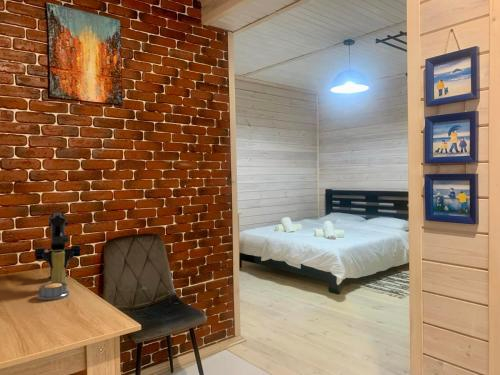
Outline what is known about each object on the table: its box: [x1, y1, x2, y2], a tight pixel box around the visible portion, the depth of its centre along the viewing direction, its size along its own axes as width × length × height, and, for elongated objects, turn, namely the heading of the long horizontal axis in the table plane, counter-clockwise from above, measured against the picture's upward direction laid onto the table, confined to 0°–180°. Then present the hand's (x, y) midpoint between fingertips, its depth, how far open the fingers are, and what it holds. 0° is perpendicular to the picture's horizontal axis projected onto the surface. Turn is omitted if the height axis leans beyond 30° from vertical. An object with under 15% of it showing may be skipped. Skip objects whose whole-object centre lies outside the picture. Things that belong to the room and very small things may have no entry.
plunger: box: [44, 283, 62, 288], centre depth 160 cm, size 7×7×1 cm
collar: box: [36, 282, 70, 302], centre depth 160 cm, size 12×12×4 cm
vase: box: [50, 250, 67, 284], centre depth 172 cm, size 6×6×14 cm
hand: (58, 268), depth 171 cm, fingers closed on vase, 5 cm apart
